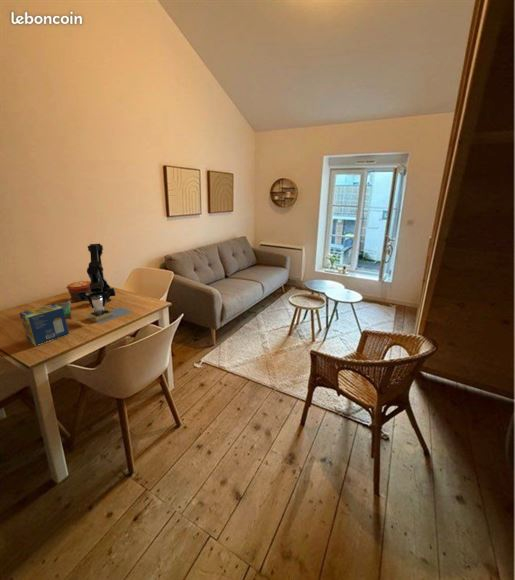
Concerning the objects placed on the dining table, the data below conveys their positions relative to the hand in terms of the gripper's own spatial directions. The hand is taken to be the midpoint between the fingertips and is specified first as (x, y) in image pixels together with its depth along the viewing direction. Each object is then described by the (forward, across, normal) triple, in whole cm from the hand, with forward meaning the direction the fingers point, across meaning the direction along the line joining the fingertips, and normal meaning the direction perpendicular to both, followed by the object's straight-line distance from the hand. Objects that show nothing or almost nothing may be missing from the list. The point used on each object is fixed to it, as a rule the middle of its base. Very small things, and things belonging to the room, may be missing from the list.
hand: (98, 307), depth 164 cm
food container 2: (-27, -15, +40) cm, 51 cm away
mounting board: (+4, +5, +8) cm, 10 cm away
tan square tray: (+4, 0, +6) cm, 7 cm away
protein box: (+15, -23, -3) cm, 28 cm away
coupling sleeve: (+3, 0, +5) cm, 6 cm away
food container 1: (-2, -20, +14) cm, 25 cm away
